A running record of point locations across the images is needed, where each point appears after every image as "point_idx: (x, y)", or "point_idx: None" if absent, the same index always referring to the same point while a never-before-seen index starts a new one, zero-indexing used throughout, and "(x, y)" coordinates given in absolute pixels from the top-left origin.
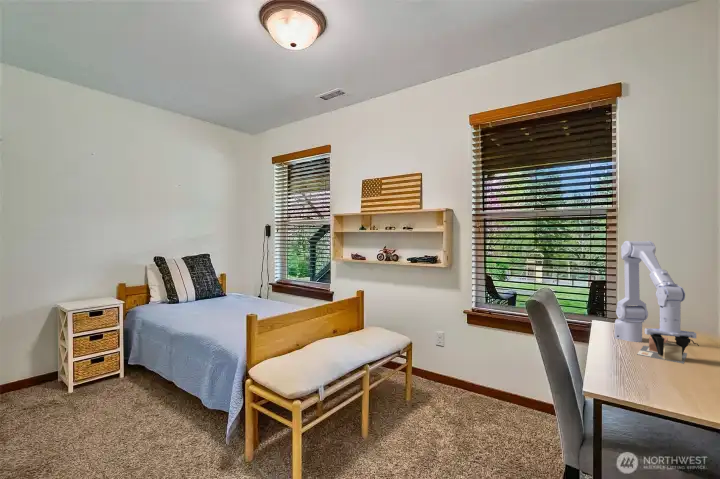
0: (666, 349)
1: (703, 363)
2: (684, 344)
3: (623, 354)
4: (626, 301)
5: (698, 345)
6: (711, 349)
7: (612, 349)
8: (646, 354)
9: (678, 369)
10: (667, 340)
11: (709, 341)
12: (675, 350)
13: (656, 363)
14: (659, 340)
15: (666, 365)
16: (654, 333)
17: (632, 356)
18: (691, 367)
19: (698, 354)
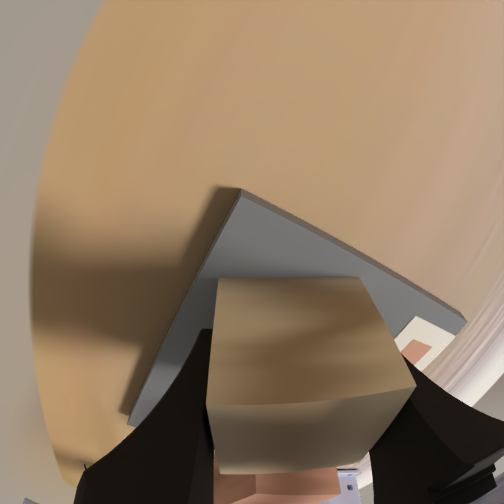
0: (382, 352)
1: (70, 313)
2: (163, 446)
3: (490, 322)
4: None
5: (85, 466)
6: (56, 447)
7: (471, 376)
8: (410, 347)
9: (352, 58)
10: (216, 495)
11: (67, 475)
12: (286, 357)
13: (443, 195)
14: (481, 425)
15: (398, 158)
16: (480, 500)
17: (477, 306)
18: (184, 167)
19: (85, 423)
